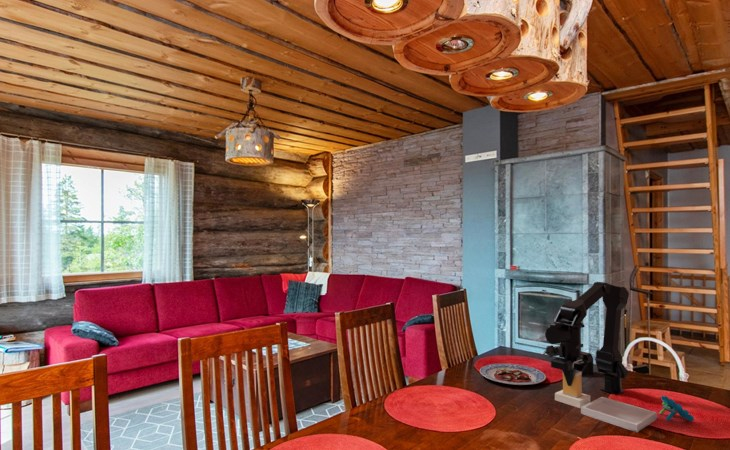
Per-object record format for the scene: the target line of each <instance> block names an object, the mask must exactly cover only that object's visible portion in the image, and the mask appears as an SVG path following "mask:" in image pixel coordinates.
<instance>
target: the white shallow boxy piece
mask: <svg viewBox="0 0 730 450" xmlns="http://www.w3.org/2000/svg"><path fill="white" fill-rule="evenodd" d="M554 401H557V402H560V403H563V404H565V405H568V406H572V407H574V408H578V409H581V407H582V406H584V405H586V404H588V403H590V402H591V395H589V394H585V393H583V392H582V397H580V398H574V397H571V396H568V395H565V394H563V389H561V390H559V391H556V392H555V393H554Z"/></svg>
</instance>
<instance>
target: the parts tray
mask: <svg viewBox="0 0 730 450" xmlns="http://www.w3.org/2000/svg"><path fill="white" fill-rule="evenodd" d="M580 414H581V415H584V416H586V417H589V418H592V419H596V420H598V421H601V422H604V423H607V424H611V425H614V426H617V427H620V428H623V429H625V430H629V431H631V432H634V433H639V432H640V431H642V430H643V429H645V428H646V427H648V426H649V425H650V424H652V423H654V422H655V421H657V420H658V419H657V418H658V413H657V411H653V410H649V409H646V408H643V407H639V406H636V405H633V404H629V403H627V402H626V403H625V402H622V401H619V400H616V399H612V398H609V397H605V396H600V397H598V398H596V399H594V400H592V401H590V403H588V404H586V405H584V406H582V407H581V408H580Z"/></svg>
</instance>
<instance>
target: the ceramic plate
mask: <svg viewBox="0 0 730 450" xmlns="http://www.w3.org/2000/svg"><path fill="white" fill-rule="evenodd" d="M497 371H499V372H497ZM479 373H480V374H481V376H483V377H485V378H486V379H488V380H491V381H493V382H496V383H497V382H498V383H501V384H505V385H506V384H507V385H512V386H523V385H524V386H526V385H527V386H528V385H536V384H540V383H542V382H544V381H545V380H546V379H547V376H546V374H545V373H544V372H542V371H541V370H539V369H537V368H534V367H531V366H527V365H523V364H517V363H491V364H487V365H484V366H482V367H481V368H480V369H479ZM530 376H531V377H530Z"/></svg>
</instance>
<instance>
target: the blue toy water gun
mask: <svg viewBox="0 0 730 450" xmlns="http://www.w3.org/2000/svg"><path fill="white" fill-rule="evenodd" d="M660 399H661V401H662V403H661V405H662V409H661V410H660V412H658V414H659V415H660V414H664V413H665V411H666V412H669V414H668V415H667V416H666V417H665V420H667V421H668V422H669V421H671V419H672V418H673V417H674V416H675V415H677V414H679V416H680V417H681V418H683V419H686V420H687V421H688V422H691V423H693V422H695V417H694V416H693V415H692V414H690V411H688V409H683V405H681V404H680V403H676V402H675V400H674V399H672V398H669V396H667V395H661V396H660Z"/></svg>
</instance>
